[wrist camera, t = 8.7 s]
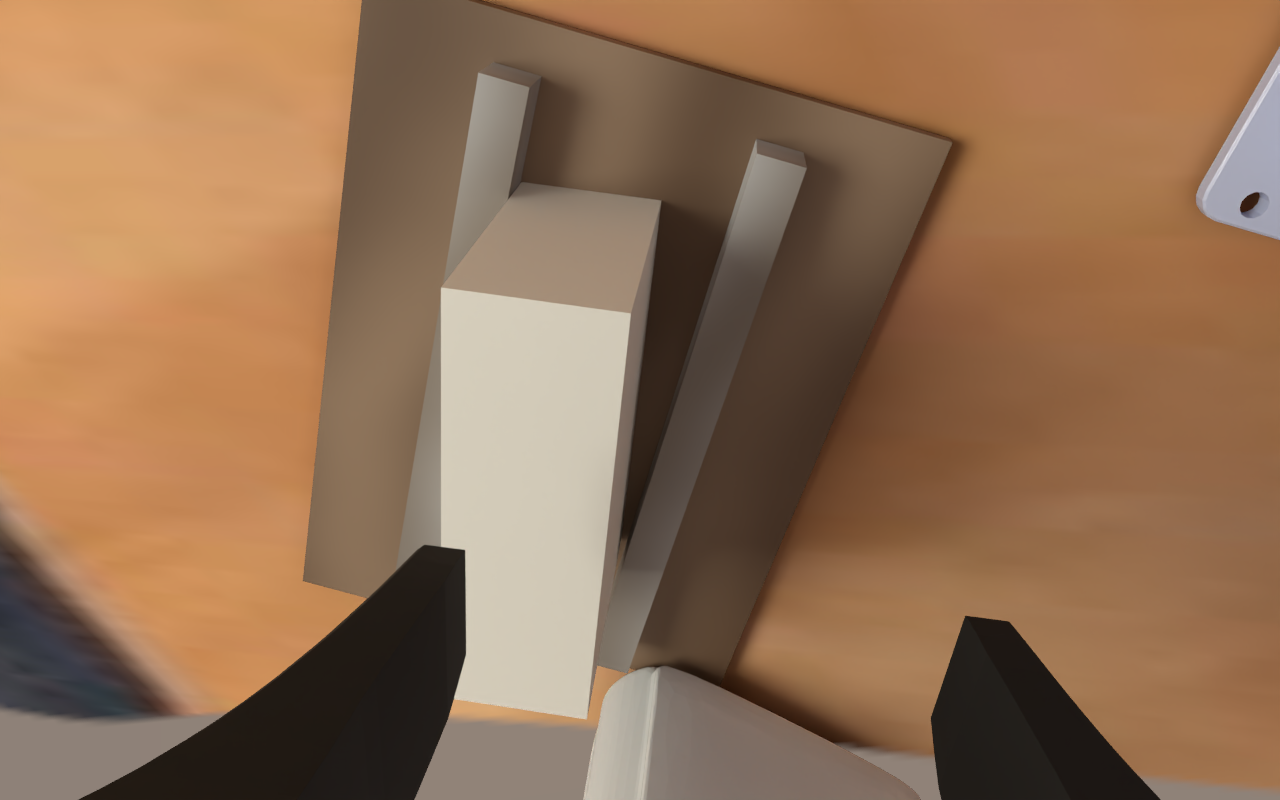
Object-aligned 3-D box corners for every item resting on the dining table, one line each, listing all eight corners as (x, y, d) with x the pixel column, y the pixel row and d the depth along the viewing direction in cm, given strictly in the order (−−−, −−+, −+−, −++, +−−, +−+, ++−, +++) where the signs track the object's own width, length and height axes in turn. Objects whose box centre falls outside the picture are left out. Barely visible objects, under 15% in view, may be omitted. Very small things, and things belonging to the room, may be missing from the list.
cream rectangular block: (661, 200, 20) (630, 313, 14) (621, 538, 24) (586, 719, 19) (521, 182, 20) (440, 287, 15) (507, 521, 24) (440, 696, 19)
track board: (948, 137, 19) (965, 157, 17) (717, 681, 27) (715, 725, 25) (372, -32, 18) (341, -25, 17) (308, 571, 26) (284, 610, 25)
